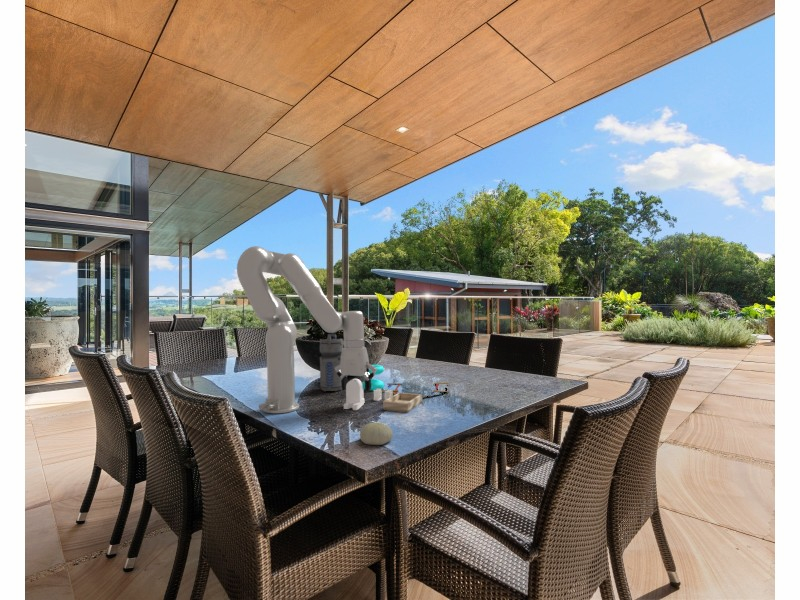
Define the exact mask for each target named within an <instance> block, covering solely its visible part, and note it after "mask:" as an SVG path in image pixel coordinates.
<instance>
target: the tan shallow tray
mask: <svg viewBox="0 0 800 600" xmlns="http://www.w3.org/2000/svg"><path fill="white" fill-rule="evenodd" d="M422 396H423V394H422V393H421V394H419V393H408V392H397V394H396V395H394V394H393V396H392V397H390V398H388V399H387V400H385V399H384V400H383V401H382V410H383V411H390V412H398V413H399V412H401V413H409V412H411V411H413V410H414V408H417V407H418V406H419V405H421V404H422V403H423V398H422Z"/></svg>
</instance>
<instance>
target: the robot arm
mask: <svg viewBox="0 0 800 600" xmlns="http://www.w3.org/2000/svg"><path fill="white" fill-rule="evenodd" d="M264 273H266V274H272V275H276V276H280V277H281V276H282V277H284V278H285V280H286V281H287V282H288V284H289V286H291V288H292V289H293V290H294V292H295V293H296V294H297V296H298V297H299V299H300V300H301V302H302V303H303V304H304V306H305V307H306V308H307V310H308V311H309V313H310V314H311V315H312V316H313V318H314V319H315V321H316V322H317V324H318V325H319V326H320V328H322V330H324V331H325V332H326V333H328V334H335V333H337V332H338V331H341V330H342V331H343V341H342V342H341V344H342V345H343V348H342V353H341V364H340V365H338V366H336V367H335V370H336V372H337V375H338V376H339V377H340V379H341V383H342V390H341V391H346V385H347V383H348V382H349V379H348V376H352V377H353V376H355V377H357V376H358V377H359V376H360V377H361V376H362V377H364V379H365V380H364V381H365V389H364V391H365V392H369V391H372V390H371V379H373V378H374V376H376V375H375V373H376V371H377V368H376V367H374V366H372V365H373V364H371V363H370V360H369V359H370V358H369V353H368V350H367V347H365V346H366V345H365V331H364V330H365V328H364V314H363V312H362V311H361V310H347V311H337V310H336V309H335V308H334V307H333V305H332V304H331V303H330V301H329V300H328V298H327V297H326V296H325V293H324V292H323V289H322V287H321V285H320V283H319V281H317V279H316V278H315V277H314V276H313V274H312V273H311V271H310V270H309V269H308V268H307V266H306V265H305V264H304V261H303V259H302V258H301V257H300V256H298V255H297V254H295V253H290V252H288V253H285V254H284V253H281V252H275V251H271V250H267V249H265V248H264V247H262V246H250V247H248V248H246V249H245V250H244V251H243V252H242V253H241V255H240V256H239V258H238V260H237V264H236V274H237V278H238V281H239V284H240V286H241V287H242V290H243V292H244V294H245V296H246V298H247V300H248V302H249V304H250V306H251V307H252V310H253V312H254V314H255V316H256V317H257V318H258V320H260V321H262V322H264V323H265V324H266V326H267V331H266V332H265V333H266V334H265V347H266V348H265V349H266V364H267V365H266V367H267V368H266V369H267V370H266V371H267V372H266V375H267V378H266V379H267V398H266V399H265V402H264V403H261V404H258V409H259V410H260V411H263V412H264V413H268V414H287V413H292V412H295V411H297V410H299V408H300V404H299V403H298V402H296V395H295V393H296V384H295V381H296V380H295V375H296V374H295V352H294V351H295V350H294V349H295V348H294V342H295V341H296V339H297V338H298V337H297V336H298V330H297V326H296V325H295V323H294V320H293V319H292V317H291V314H290V313H289V311H288V309H287V307H286V305H285V304H284V303H285V302H283V300H282V299H280V298H279V297H277V296H276V295H274V293H273V291H272V289H271V287H270V285H269V284H268V281H267V279H266V278H265V276H264ZM340 368H341V371H340ZM369 369H371V370H372V372H371V374H369Z"/></svg>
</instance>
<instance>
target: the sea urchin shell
mask: <svg viewBox="0 0 800 600" xmlns="http://www.w3.org/2000/svg"><path fill="white" fill-rule="evenodd" d="M393 435H394V433H393V430H392V428H391V427H390V426H388V425H387V424H384V423H381V422H375V421H374V422H369V423H367V424H365V425H364V426H362V428H361V429H360V432H359V438H360V441H361V442H362V443H364V444H365V445H370V446H371V445H372V446H373V445H374V446H381V445H384V444H387V443H388V442H390V441H391V440H392V439H393Z"/></svg>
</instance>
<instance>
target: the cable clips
mask: <svg viewBox="0 0 800 600" xmlns="http://www.w3.org/2000/svg"><path fill="white" fill-rule="evenodd" d="M382 389H383V388H382ZM382 389H376V390H373V401H374V402H375V401H376V402H379V401H381V400H382V399H383V398H382ZM362 390H363V398H364V391H365V389H363V388H362ZM386 390H387V389H386ZM393 390H394V389H388V390H387V391H385V392H384V401H385V400H387V399H388V398H390V397H392V396H394V393H393Z"/></svg>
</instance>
